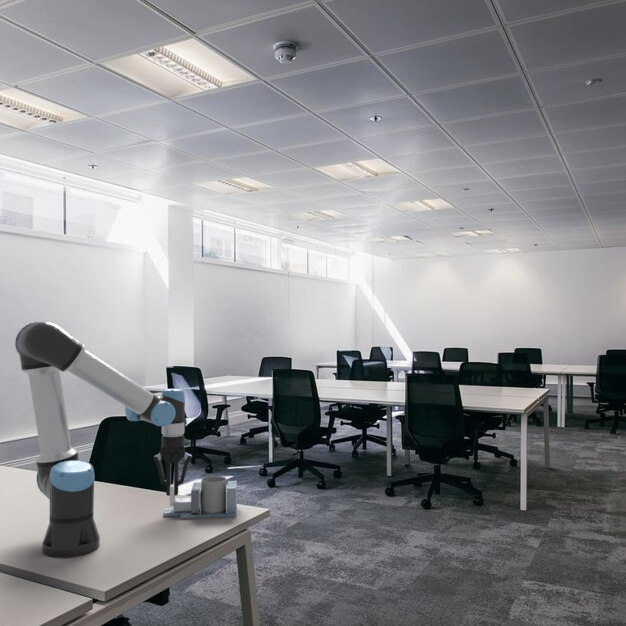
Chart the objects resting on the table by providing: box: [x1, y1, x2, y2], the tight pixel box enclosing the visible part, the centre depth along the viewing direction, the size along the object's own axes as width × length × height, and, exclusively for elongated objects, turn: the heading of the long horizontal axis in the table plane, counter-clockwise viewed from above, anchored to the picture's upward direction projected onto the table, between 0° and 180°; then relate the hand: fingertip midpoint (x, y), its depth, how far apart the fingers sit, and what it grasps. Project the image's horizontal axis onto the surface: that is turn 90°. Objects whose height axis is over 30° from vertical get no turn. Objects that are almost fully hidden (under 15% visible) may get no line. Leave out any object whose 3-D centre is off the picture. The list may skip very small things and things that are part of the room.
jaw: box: [173, 481, 201, 513], centre depth 200 cm, size 10×9×8 cm
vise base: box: [163, 480, 238, 520], centre depth 200 cm, size 12×24×9 cm, turn 97°
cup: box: [200, 475, 227, 513], centre depth 201 cm, size 8×8×10 cm
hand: (172, 505), depth 199 cm, fingers closed
